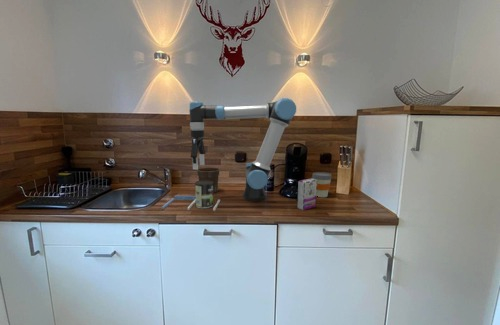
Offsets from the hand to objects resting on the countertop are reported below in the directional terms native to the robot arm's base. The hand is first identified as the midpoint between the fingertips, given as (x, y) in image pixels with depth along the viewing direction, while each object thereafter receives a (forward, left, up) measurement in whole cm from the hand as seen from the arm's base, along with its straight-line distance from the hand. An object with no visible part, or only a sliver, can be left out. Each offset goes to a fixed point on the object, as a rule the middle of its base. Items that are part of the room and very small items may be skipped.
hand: (199, 167), depth 137 cm
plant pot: (+1, -28, -23) cm, 36 cm away
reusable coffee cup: (-77, -26, -23) cm, 84 cm away
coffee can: (-3, +1, -23) cm, 23 cm away
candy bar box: (-63, -1, -23) cm, 67 cm away
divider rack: (+4, +1, -23) cm, 23 cm away
